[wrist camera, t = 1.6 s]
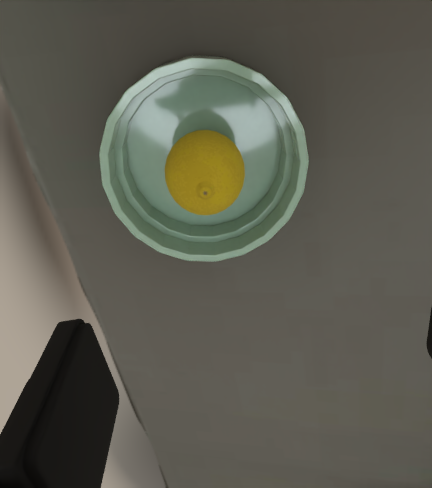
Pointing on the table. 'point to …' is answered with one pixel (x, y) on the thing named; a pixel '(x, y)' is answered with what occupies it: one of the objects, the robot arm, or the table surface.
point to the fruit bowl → (192, 119)
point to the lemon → (204, 172)
